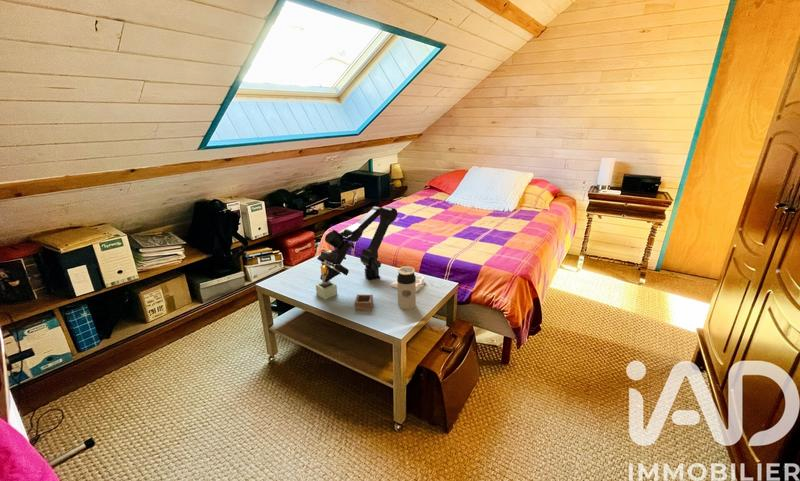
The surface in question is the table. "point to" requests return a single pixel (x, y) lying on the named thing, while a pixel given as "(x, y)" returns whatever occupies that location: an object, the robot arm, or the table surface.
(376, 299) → the table surface
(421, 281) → the knuckle duster
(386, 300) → the table surface
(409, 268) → the travel mug
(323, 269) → the gold and grey cylinder
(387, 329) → the table surface
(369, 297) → the brown square open box
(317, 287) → the cream square hollow block
